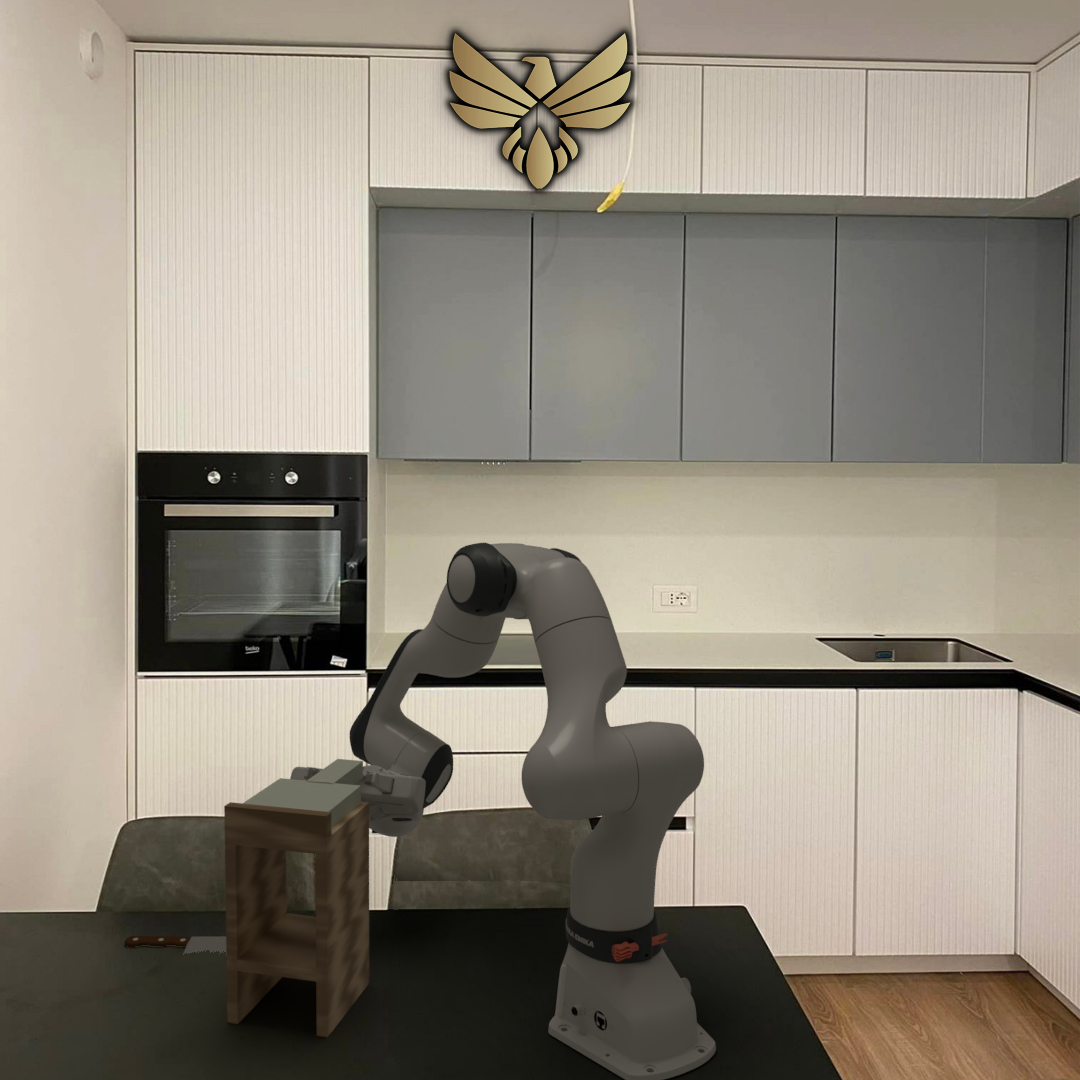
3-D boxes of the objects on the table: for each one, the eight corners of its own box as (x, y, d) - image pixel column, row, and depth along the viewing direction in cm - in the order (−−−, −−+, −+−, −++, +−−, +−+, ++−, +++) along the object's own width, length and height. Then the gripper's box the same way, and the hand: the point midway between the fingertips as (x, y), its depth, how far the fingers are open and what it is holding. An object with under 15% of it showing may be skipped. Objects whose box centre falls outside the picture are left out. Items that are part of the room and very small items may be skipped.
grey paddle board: (312, 773, 159) (312, 756, 159) (388, 779, 157) (388, 763, 156) (239, 824, 138) (239, 805, 138) (325, 833, 135) (325, 813, 135)
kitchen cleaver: (107, 964, 153) (132, 928, 163) (107, 970, 153) (133, 934, 163) (278, 966, 153) (292, 930, 163) (278, 973, 154) (293, 937, 163)
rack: (277, 970, 152) (275, 773, 150) (369, 983, 149) (369, 781, 146) (227, 1022, 139) (224, 806, 136) (327, 1037, 136) (326, 816, 133)
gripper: (313, 770, 170) (278, 748, 158) (435, 780, 165) (409, 759, 153) (305, 810, 167) (268, 791, 155) (429, 821, 163) (401, 803, 151)
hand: (339, 775), depth 154 cm, fingers open, 8 cm apart
